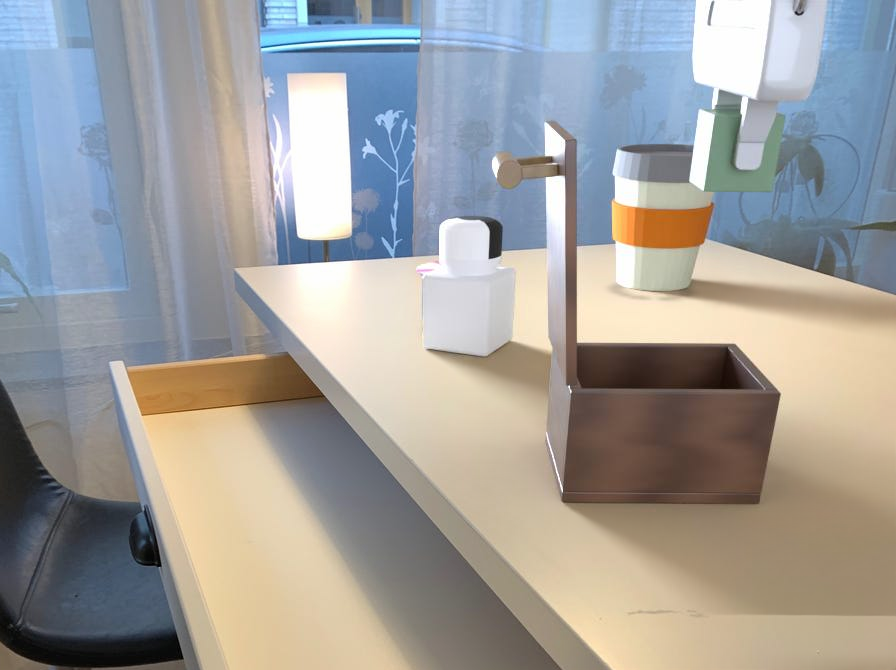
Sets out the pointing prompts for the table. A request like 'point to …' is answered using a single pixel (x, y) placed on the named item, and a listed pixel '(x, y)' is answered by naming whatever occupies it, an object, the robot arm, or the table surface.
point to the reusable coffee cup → (657, 216)
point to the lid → (554, 234)
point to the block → (716, 152)
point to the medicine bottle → (468, 290)
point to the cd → (428, 267)
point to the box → (661, 424)
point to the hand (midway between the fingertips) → (733, 163)
